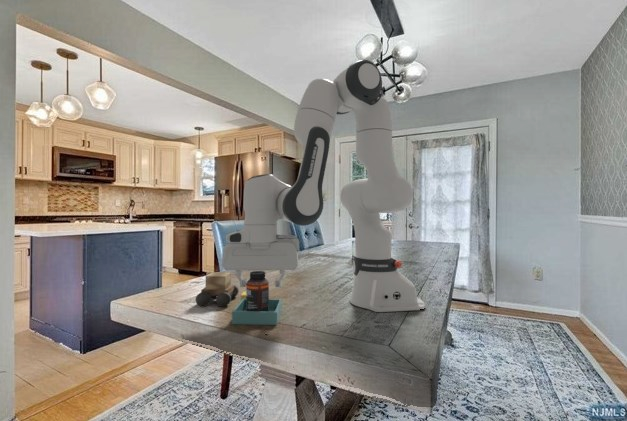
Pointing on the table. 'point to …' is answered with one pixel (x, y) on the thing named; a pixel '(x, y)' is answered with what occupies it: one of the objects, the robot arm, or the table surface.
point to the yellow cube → (243, 295)
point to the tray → (257, 314)
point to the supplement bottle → (257, 292)
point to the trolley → (217, 289)
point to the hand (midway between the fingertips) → (261, 286)
